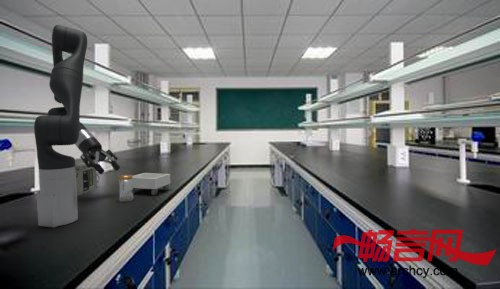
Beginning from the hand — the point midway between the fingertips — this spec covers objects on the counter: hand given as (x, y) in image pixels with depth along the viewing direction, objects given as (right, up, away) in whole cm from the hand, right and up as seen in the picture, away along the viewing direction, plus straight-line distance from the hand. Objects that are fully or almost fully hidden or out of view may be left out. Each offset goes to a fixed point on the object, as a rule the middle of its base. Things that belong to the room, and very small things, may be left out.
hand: (110, 170), depth 108 cm
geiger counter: (-20, -11, +13) cm, 26 cm away
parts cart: (+11, -11, +12) cm, 20 cm away
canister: (+7, -12, -1) cm, 14 cm away
